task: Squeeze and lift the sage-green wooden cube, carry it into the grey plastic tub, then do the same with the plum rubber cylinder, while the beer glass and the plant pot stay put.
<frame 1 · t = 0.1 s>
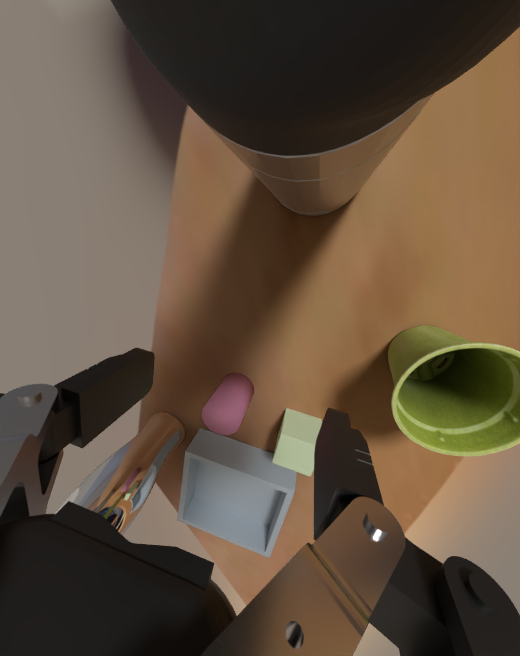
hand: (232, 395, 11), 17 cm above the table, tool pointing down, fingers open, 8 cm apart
sage block: (299, 426, 31), on the table
plum cylinder: (237, 387, 31), on the table
beer glass: (168, 427, 37), on the table
tub: (239, 479, 37), on the table
plant pot: (418, 352, 25), on the table
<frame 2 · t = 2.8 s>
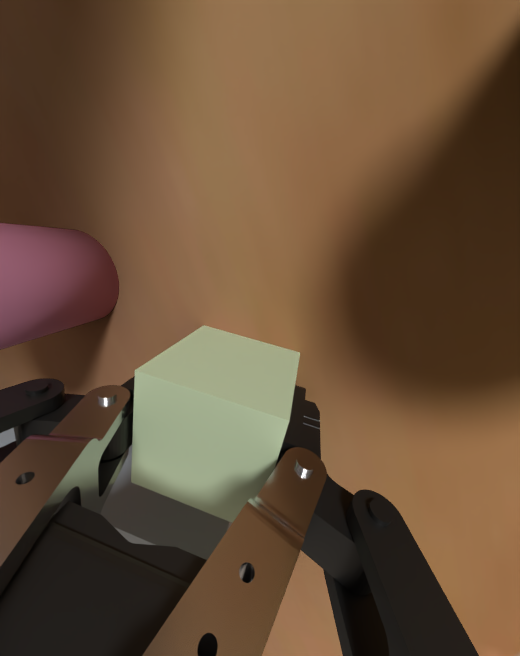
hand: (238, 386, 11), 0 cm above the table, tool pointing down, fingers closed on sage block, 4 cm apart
sage block: (241, 381, 12), on the table, touching gripper
plum cylinder: (80, 277, 12), on the table
tub: (126, 513, 17), on the table
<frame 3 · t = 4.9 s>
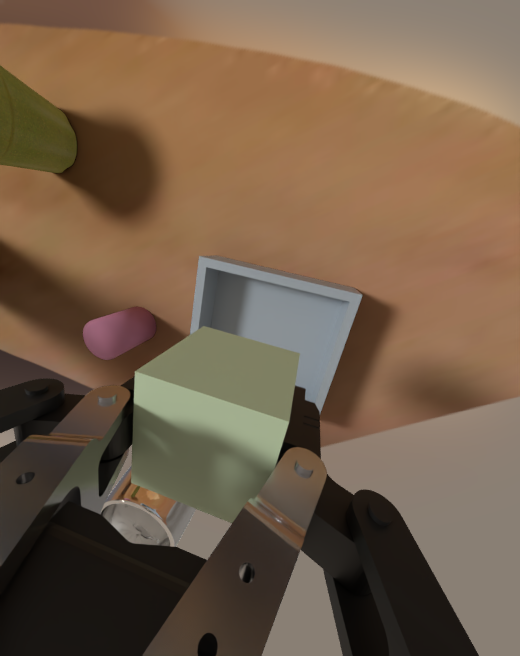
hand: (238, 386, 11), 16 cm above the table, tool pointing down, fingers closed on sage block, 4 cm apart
sage block: (241, 381, 12), point 15 cm above the table, touching gripper
plum cylinder: (140, 323, 30), on the table
beer glass: (212, 410, 32), on the table
tub: (267, 335, 27), on the table
plant pot: (56, 142, 26), on the table
when the fingers open (4 cm above the table, at t = 7.1 s): sage block drops 3 cm, resting on tub.
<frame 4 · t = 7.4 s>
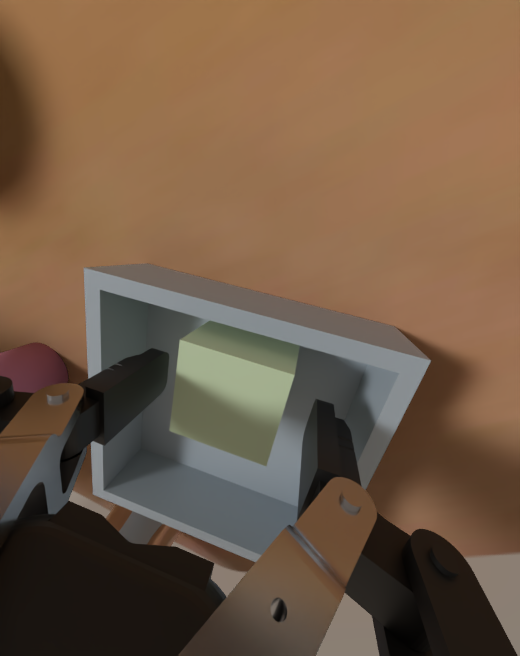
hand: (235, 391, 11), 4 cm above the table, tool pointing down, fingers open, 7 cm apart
sage block: (252, 359, 14), point 1 cm above the table, touching tub
plum cylinder: (45, 368, 19), on the table
beer glass: (161, 496, 21), on the table
tub: (239, 398, 16), on the table
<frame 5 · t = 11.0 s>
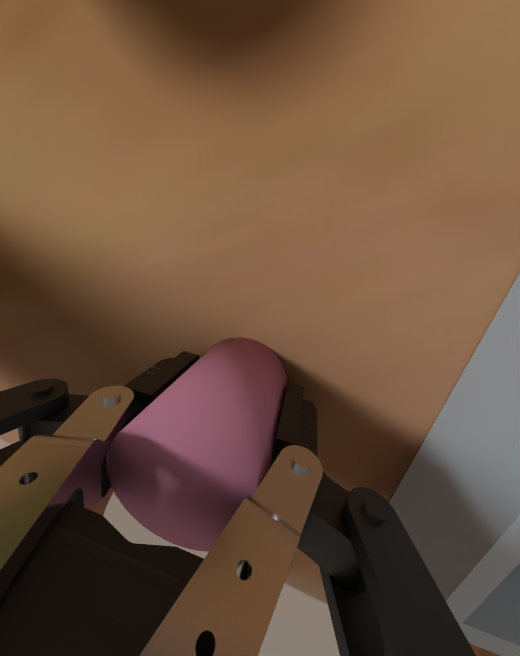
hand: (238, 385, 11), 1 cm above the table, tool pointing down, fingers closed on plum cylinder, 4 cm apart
plum cylinder: (242, 379, 12), on the table, touching gripper
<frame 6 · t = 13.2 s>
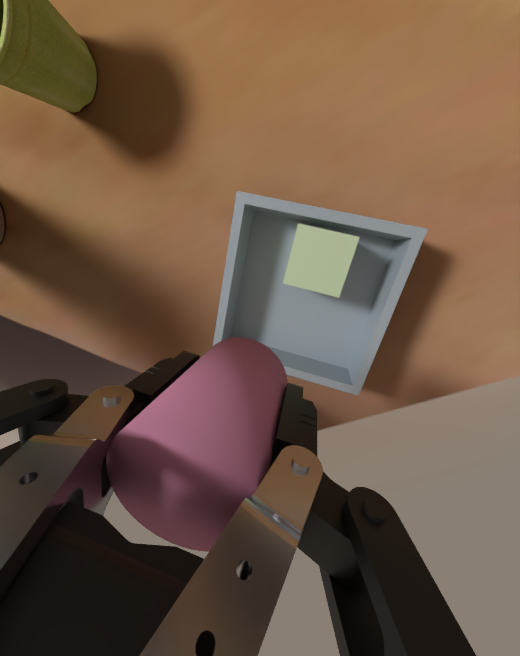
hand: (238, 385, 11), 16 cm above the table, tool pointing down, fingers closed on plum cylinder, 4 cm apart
sage block: (318, 259, 23), point 1 cm above the table, touching tub
plum cylinder: (242, 379, 12), point 15 cm above the table, touching gripper
tub: (303, 292, 25), on the table
plant pot: (73, 76, 23), on the table
when the fingers open (4 cm above the table, at t = 15.3 s): plum cylinder drops 2 cm, resting on tub.
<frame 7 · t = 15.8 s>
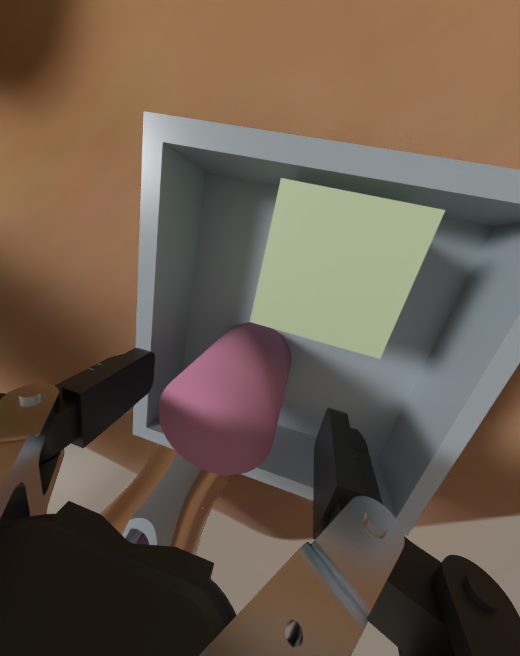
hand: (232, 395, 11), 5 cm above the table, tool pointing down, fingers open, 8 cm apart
sage block: (327, 266, 12), point 1 cm above the table, touching tub
plum cylinder: (253, 358, 14), point 1 cm above the table, touching tub
beer glass: (197, 454, 19), on the table
tub: (300, 324, 14), on the table
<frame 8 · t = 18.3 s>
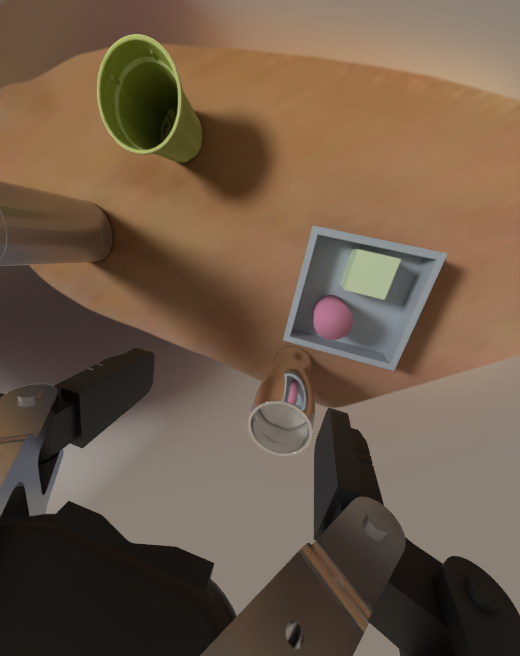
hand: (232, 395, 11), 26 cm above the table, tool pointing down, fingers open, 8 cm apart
sage block: (363, 271, 31), point 1 cm above the table, touching tub
plum cylinder: (330, 310, 34), point 1 cm above the table, touching tub
beer glass: (292, 364, 38), on the table
tub: (350, 296, 33), on the table
plant pot: (183, 137, 32), on the table
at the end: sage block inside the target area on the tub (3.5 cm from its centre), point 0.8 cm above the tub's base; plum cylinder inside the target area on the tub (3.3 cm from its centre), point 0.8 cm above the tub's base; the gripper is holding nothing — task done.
